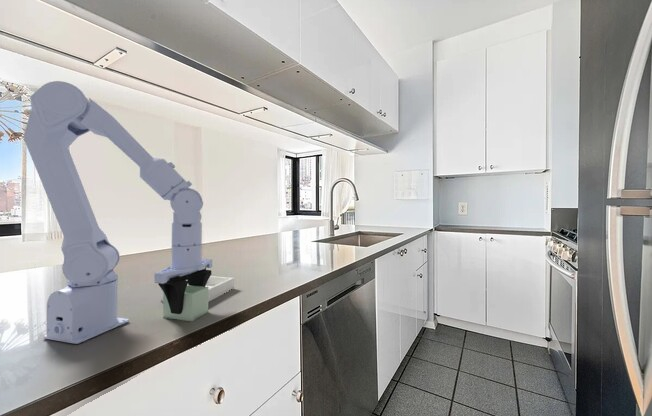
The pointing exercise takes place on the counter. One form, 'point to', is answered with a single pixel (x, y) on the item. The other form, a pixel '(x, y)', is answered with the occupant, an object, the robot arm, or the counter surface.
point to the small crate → (189, 304)
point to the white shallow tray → (215, 286)
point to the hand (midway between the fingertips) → (186, 308)
